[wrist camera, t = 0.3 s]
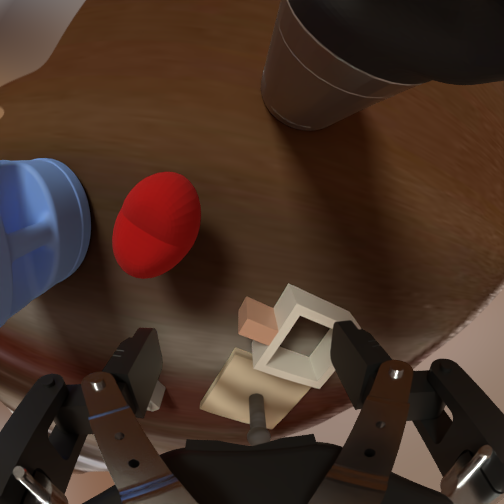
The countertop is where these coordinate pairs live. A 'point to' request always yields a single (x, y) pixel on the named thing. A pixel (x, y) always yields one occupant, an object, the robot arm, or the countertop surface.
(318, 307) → the white square frame
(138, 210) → the red heart
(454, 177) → the countertop surface
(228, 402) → the beige peg base
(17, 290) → the water jug
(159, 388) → the lighter
